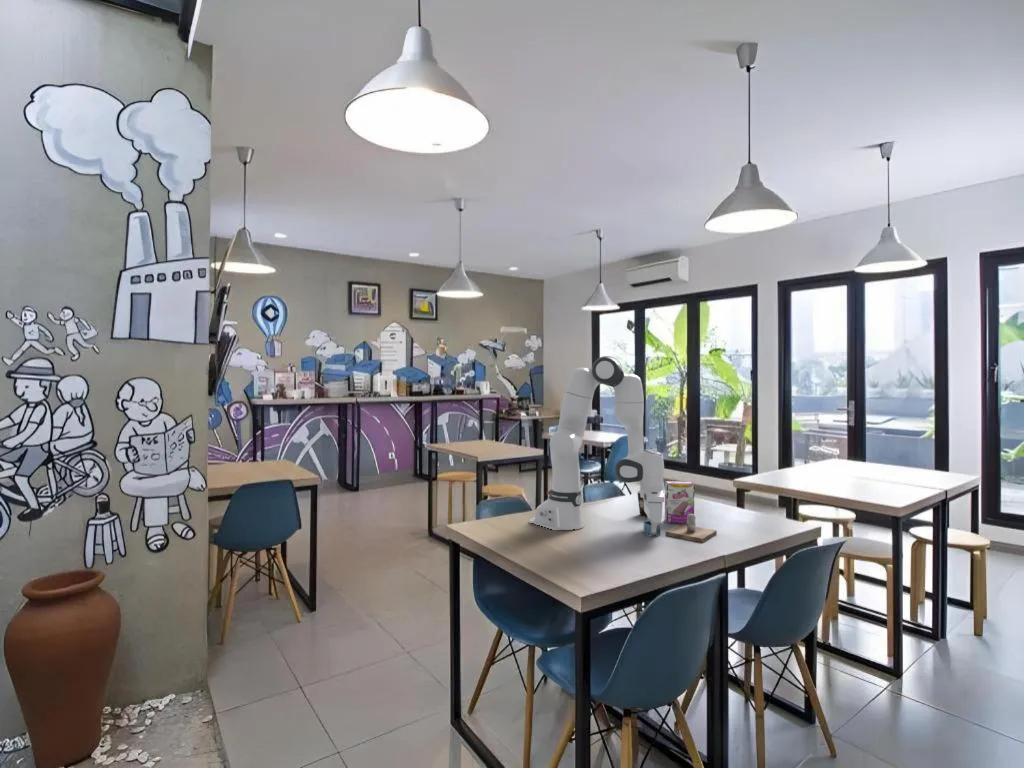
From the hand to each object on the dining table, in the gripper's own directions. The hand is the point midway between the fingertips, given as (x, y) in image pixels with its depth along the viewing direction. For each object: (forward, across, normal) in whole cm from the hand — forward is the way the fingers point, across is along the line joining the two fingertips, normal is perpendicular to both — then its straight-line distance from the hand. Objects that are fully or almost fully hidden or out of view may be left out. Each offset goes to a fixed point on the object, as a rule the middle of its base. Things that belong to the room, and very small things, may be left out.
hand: (652, 529), depth 203 cm
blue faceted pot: (+2, 0, 0) cm, 2 cm away
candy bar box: (+2, -18, +14) cm, 23 cm away
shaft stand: (+2, 0, +14) cm, 15 cm away
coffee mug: (+2, -27, +3) cm, 27 cm away
